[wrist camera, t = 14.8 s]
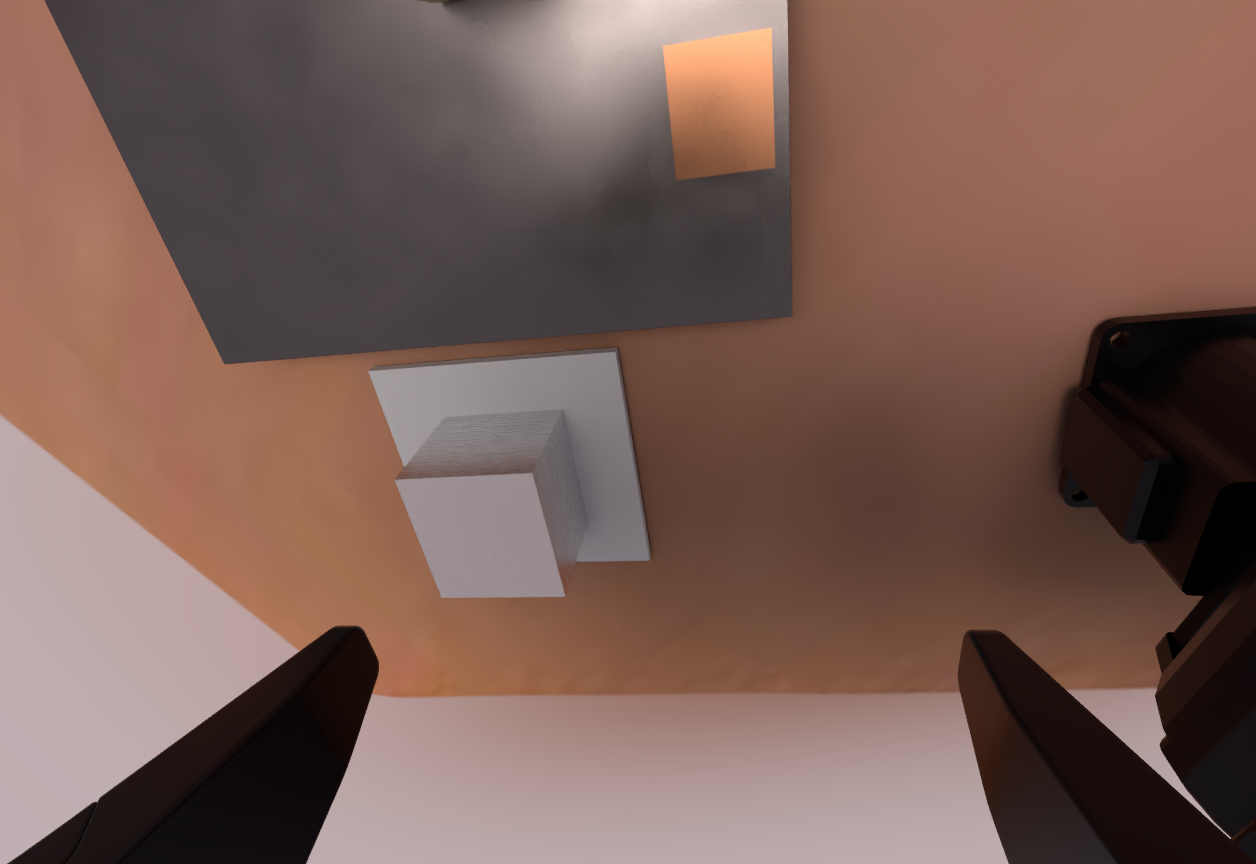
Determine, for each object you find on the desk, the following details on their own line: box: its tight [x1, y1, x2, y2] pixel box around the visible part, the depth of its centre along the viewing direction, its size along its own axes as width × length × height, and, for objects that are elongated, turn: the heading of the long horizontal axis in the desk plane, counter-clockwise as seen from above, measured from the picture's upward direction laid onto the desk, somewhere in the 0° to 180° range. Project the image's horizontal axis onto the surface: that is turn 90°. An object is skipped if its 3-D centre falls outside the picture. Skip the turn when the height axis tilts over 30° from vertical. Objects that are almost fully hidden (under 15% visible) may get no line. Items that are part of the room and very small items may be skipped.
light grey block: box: [395, 409, 588, 598], centre depth 22 cm, size 4×5×4 cm
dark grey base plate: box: [45, 0, 792, 364], centre depth 16 cm, size 18×10×6 cm, turn 98°
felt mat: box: [368, 347, 651, 562], centre depth 24 cm, size 9×9×1 cm
